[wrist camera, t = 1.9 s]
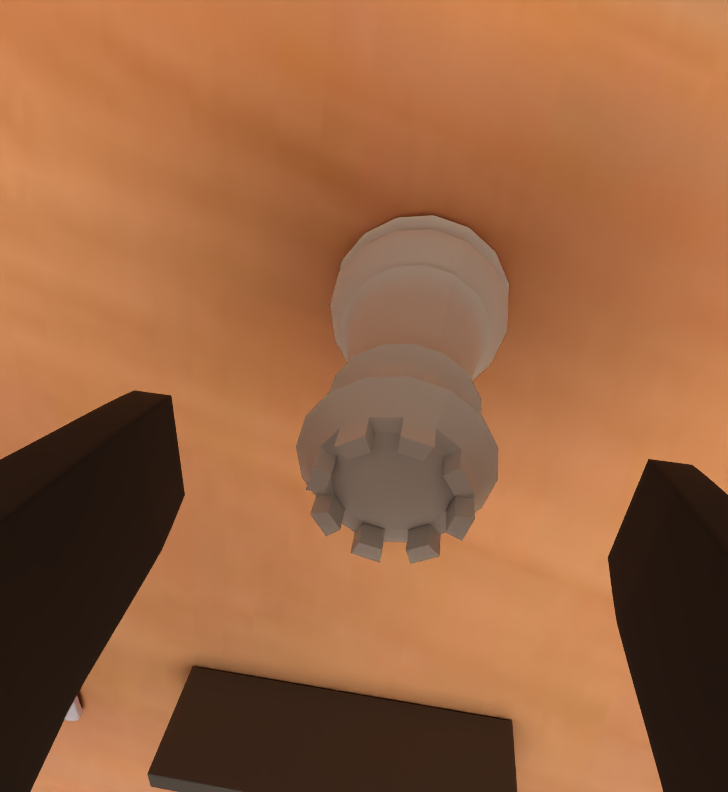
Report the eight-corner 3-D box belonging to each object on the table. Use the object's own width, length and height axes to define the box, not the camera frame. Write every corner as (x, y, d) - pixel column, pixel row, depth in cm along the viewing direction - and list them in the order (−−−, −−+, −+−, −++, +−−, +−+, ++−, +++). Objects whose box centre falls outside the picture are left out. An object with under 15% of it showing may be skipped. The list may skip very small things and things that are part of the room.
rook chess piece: (388, 173, 14) (320, 311, 7) (545, 267, 15) (616, 474, 8) (309, 320, 16) (202, 528, 10) (447, 396, 17) (437, 640, 10)
